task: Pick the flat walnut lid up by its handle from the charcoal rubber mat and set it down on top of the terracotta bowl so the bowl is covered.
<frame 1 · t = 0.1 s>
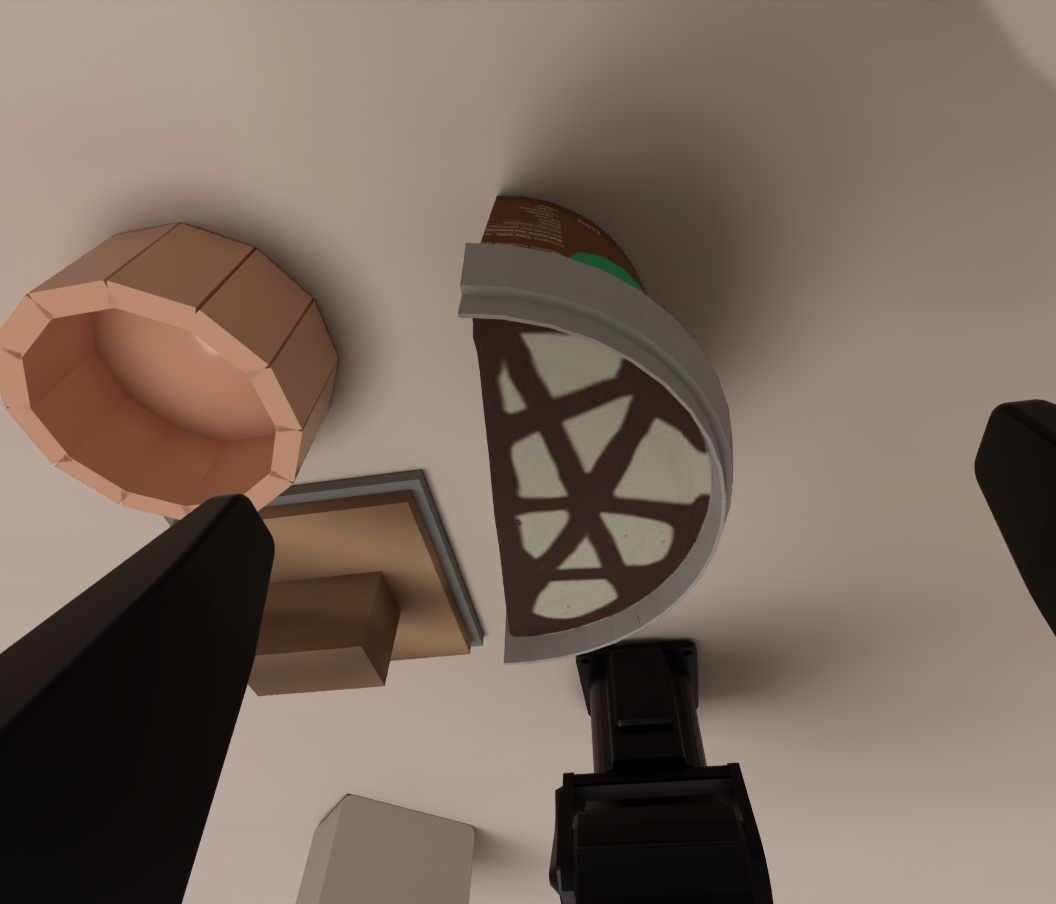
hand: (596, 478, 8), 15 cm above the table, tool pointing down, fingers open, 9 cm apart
food container: (592, 324, 23), on the table
soap bottle: (400, 817, 50), on the table
walnut lid: (336, 584, 31), point 1 cm above the table, touching rubber mat
terracotta bowl: (212, 347, 24), on the table
rubber mat: (339, 575, 32), on the table
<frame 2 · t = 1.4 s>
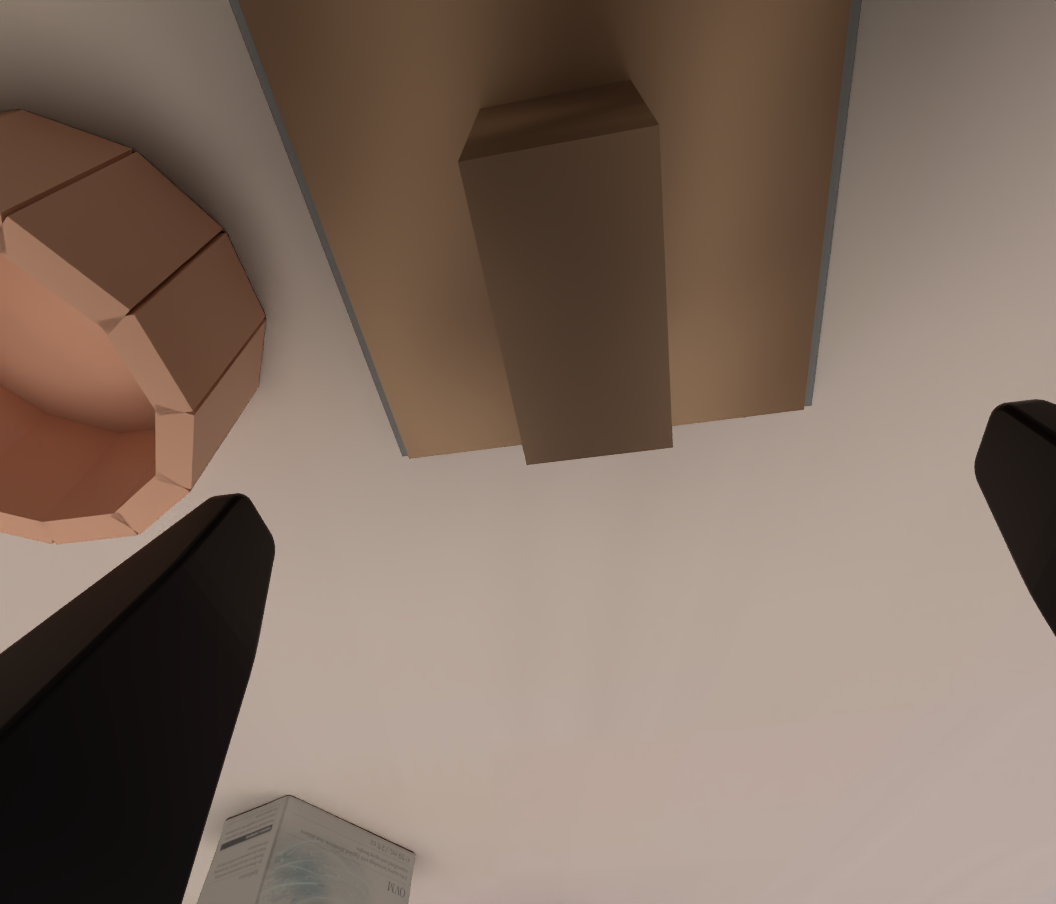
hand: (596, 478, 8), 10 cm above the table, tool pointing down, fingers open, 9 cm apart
skincare box: (325, 831, 40), on the table
walnut lid: (572, 230, 15), point 1 cm above the table, touching rubber mat
terracotta bowl: (91, 302, 17), on the table
rubber mat: (571, 221, 15), on the table
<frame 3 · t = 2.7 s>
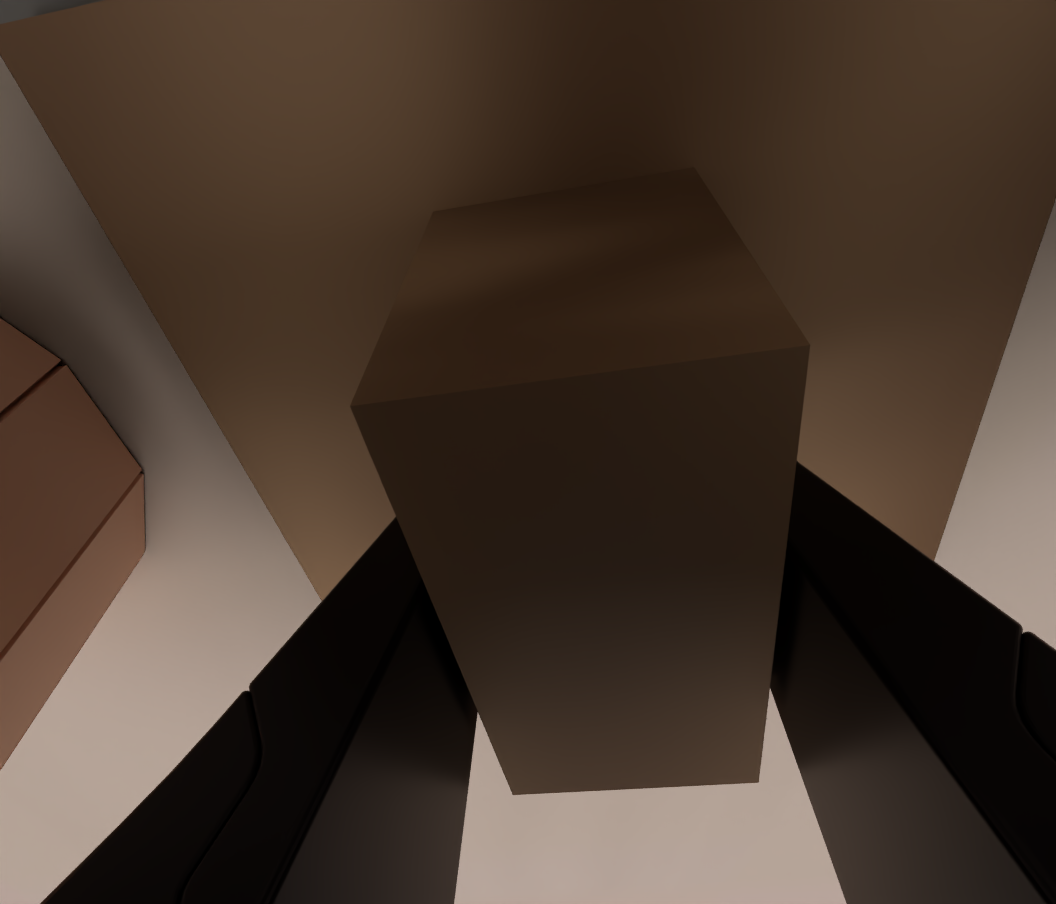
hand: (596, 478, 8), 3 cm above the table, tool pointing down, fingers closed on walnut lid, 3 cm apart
walnut lid: (586, 375, 10), point 1 cm above the table, touching gripper, rubber mat
rubber mat: (584, 355, 10), on the table
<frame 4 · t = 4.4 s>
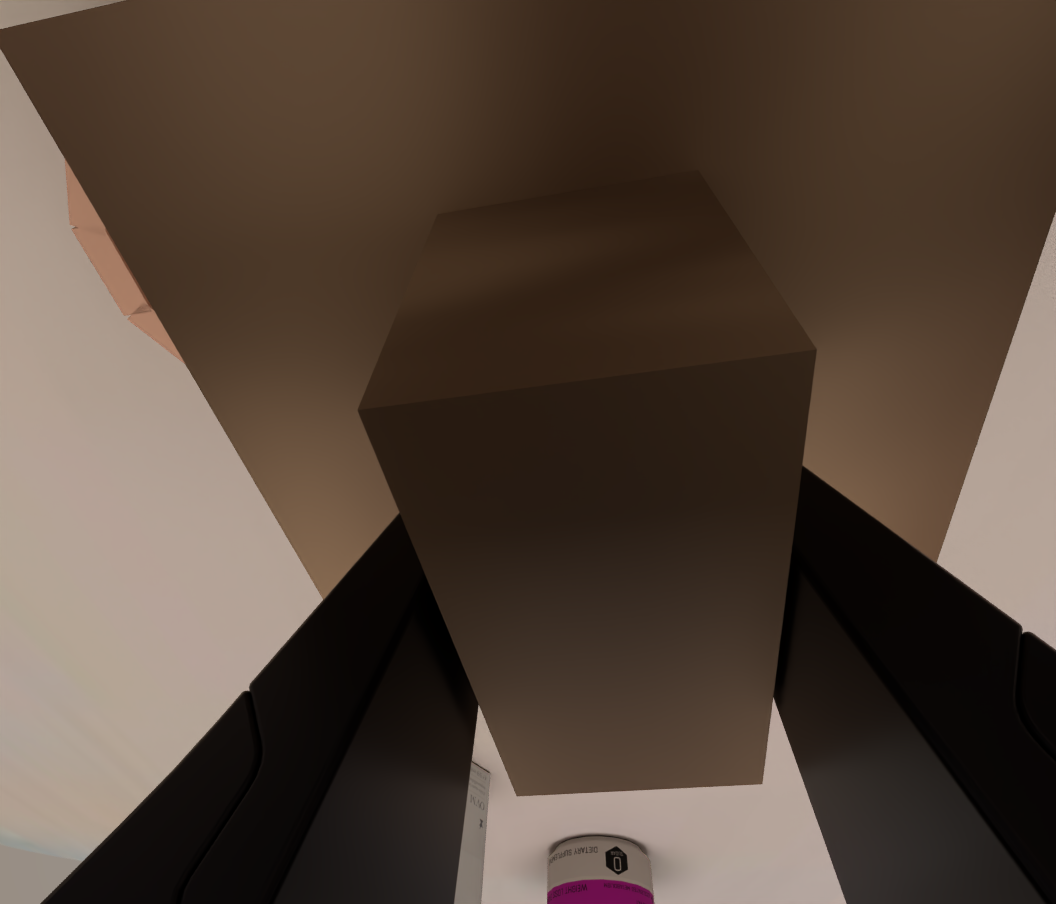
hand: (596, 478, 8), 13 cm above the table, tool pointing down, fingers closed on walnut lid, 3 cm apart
skincare box: (408, 749, 42), on the table
walnut lid: (589, 376, 10), point 11 cm above the table, touching gripper
supplement can: (597, 849, 52), on the table
terracotta bowl: (320, 191, 19), on the table
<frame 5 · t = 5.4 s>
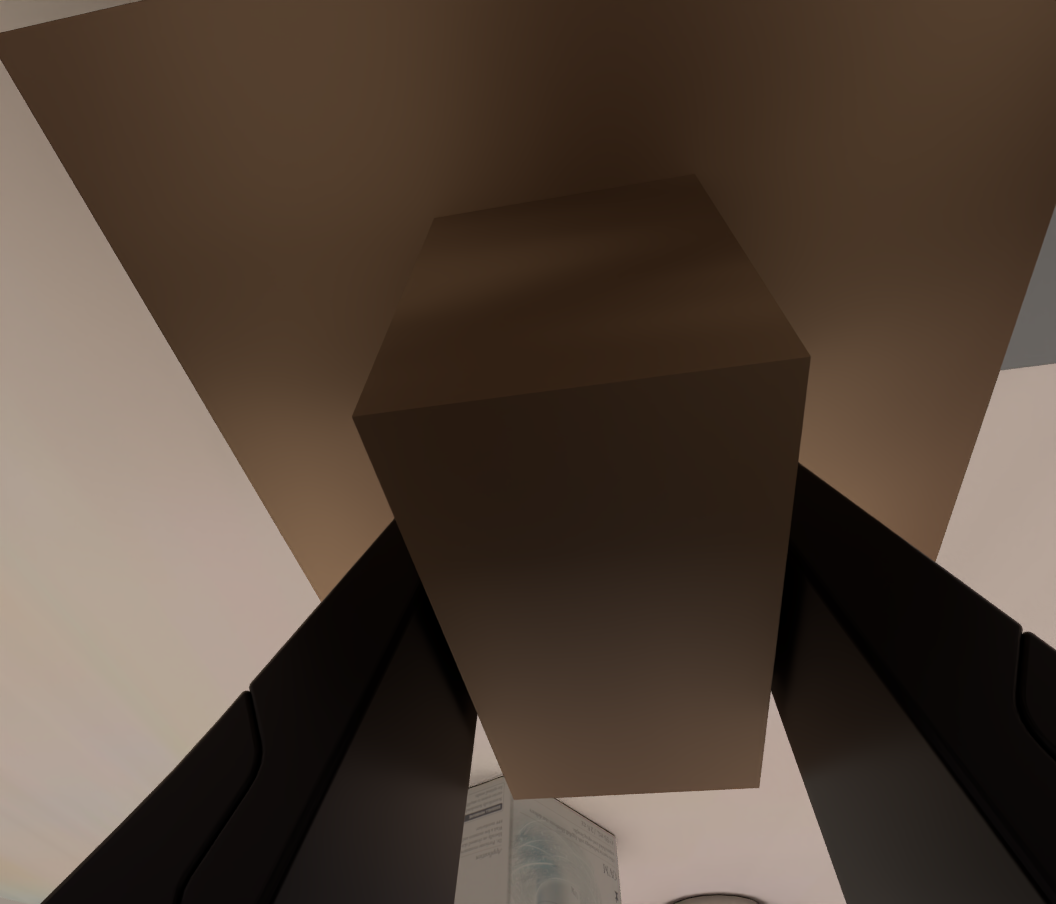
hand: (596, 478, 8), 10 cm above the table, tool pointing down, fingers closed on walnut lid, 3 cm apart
skincare box: (529, 813, 38), on the table
walnut lid: (587, 379, 10), point 8 cm above the table, touching gripper
when the fingers open (8 cm above the table, at t = 5.9 s): walnut lid drops 1 cm, resting on terracotta bowl.
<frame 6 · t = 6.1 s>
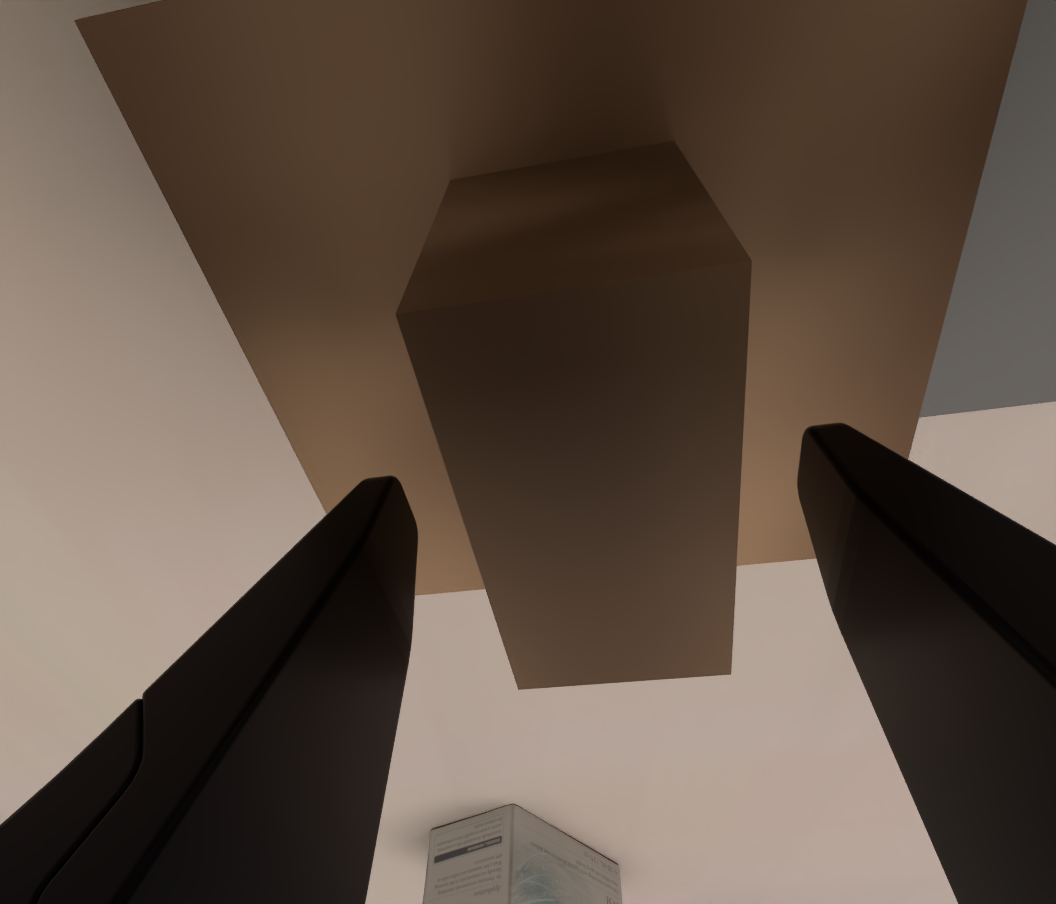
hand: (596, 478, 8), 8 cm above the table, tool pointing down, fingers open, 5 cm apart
skincare box: (529, 842, 37), on the table
walnut lid: (583, 332, 11), point 4 cm above the table, touching terracotta bowl
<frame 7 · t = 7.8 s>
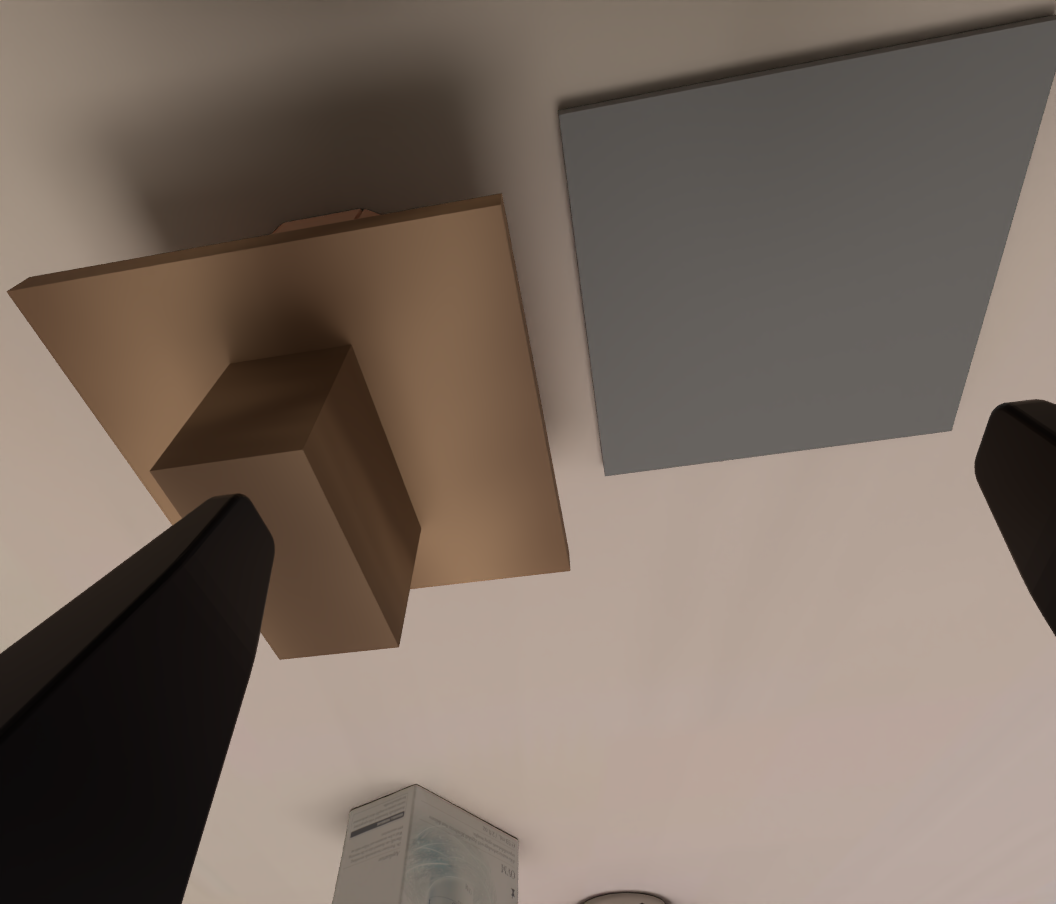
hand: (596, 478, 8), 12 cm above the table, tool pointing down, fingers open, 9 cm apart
skincare box: (438, 820, 43), on the table
walnut lid: (342, 436, 17), point 4 cm above the table, touching terracotta bowl
terracotta bowl: (372, 353, 21), on the table
rubber mat: (779, 289, 19), on the table
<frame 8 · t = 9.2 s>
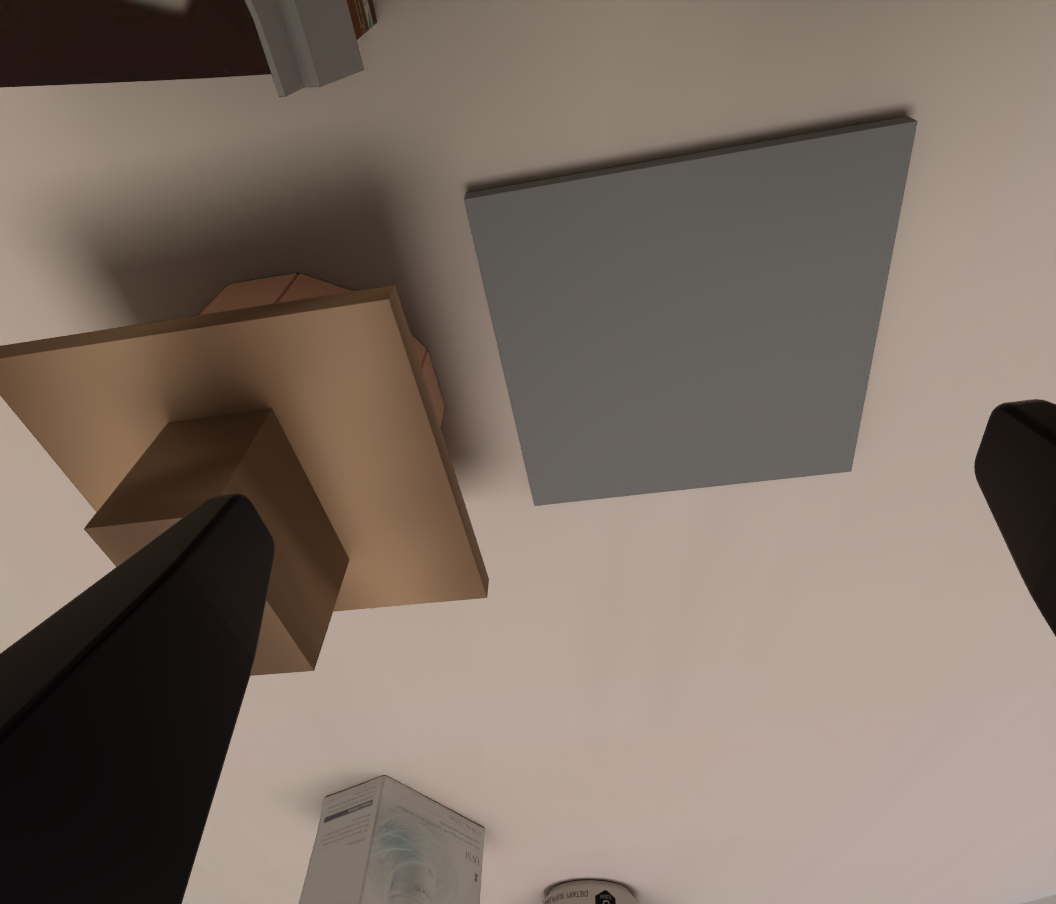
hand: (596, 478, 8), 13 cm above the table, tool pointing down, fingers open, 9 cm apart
skincare box: (408, 808, 45), on the table
walnut lid: (276, 479, 19), point 4 cm above the table, touching terracotta bowl
supplement can: (589, 891, 55), on the table
terracotta bowl: (316, 395, 23), on the table
rubber mat: (681, 345, 21), on the table
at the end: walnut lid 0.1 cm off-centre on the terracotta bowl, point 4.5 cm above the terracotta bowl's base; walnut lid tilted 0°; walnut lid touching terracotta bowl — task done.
